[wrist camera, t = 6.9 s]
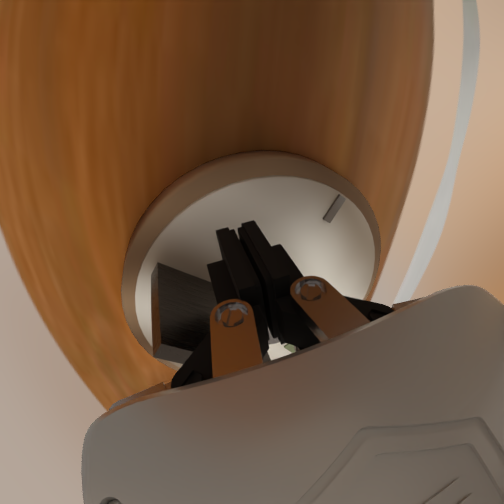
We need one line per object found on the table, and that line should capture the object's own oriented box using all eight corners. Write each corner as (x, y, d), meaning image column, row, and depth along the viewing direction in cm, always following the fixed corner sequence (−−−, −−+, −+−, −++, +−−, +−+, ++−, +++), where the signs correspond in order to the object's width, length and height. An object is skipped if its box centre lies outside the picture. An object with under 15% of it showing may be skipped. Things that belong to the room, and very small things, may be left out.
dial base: (283, 369, 26) (292, 390, 24) (98, 335, 18) (95, 362, 16) (399, 222, 20) (420, 238, 18) (200, 93, 12) (207, 93, 10)
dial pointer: (356, 311, 20) (395, 363, 16) (325, 344, 21) (357, 397, 17) (170, 234, 13) (178, 316, 9) (140, 291, 14) (141, 377, 10)
